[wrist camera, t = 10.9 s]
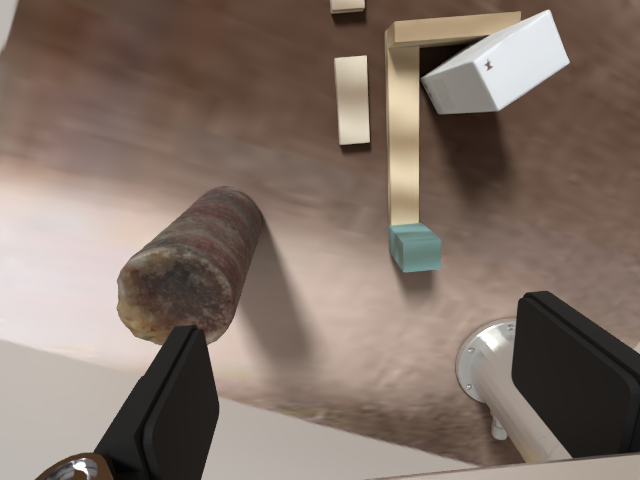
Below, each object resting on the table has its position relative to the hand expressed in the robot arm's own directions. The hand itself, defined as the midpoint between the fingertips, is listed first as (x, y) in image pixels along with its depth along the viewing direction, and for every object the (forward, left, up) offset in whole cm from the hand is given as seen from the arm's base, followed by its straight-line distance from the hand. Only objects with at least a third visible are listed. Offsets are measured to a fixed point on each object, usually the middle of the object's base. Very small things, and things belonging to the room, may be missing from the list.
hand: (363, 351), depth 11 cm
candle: (-3, +10, -31) cm, 32 cm away
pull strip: (+3, -12, -30) cm, 33 cm away
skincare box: (+9, -15, -31) cm, 35 cm away
